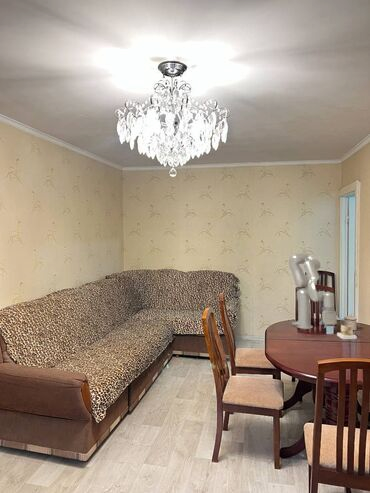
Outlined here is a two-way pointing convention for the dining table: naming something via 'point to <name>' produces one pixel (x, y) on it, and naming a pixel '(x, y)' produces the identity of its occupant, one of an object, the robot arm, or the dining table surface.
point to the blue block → (329, 329)
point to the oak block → (346, 330)
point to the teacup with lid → (350, 321)
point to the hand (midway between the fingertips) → (329, 332)
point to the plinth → (347, 336)
